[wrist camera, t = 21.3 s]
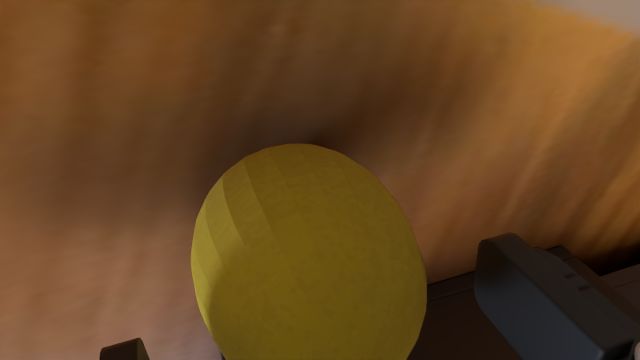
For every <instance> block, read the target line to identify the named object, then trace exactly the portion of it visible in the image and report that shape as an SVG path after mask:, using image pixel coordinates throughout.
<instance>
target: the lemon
mask: <svg viewBox="0 0 640 360" xmlns="http://www.w3.org/2000/svg"><path fill="white" fill-rule="evenodd" d="M191 269H192V276H193V281H194V287H195V292H196V297H197V302H198V306H199V309H200V312H201V314H202V317H203V319H204V321H205V324H206V326H207V328H208V330H209V331H210V333H211V335H212V337H213V339H214V340H215V342H216V344H217V346H218V347H219V349H220V351H221V352H222V354H223V356H224V357H225V359H226V360H406V359H407V357H408V356H409V354H410V352H411V350H412V349H413V347H414V345H415V343H416V341H417V339H418V337H419V334H420V330H421V327H422V323H423V320H424V316H425V313H426V304H427V280H426V272H425V267H424V263H423V259H422V256H421V253H420V250H419V248H418V245H417V242H416V239H415V236H414V234H413V231H412V228H411V226H410V224H409V222H408V219H407V217H406V216H405V214H404V212H403V210H402V209H401V207H400V206H399V204H398V203H397V201H396V200H395V199H394V198H393V196H392V195H391V194H390V193H389V192H388V190H387V189H386V188H385V187H384V186H383V184H382V183H381V182H380V181H379V180H378V179H377V178H376V177H375V176H374V175H373V174H372V173H371V172H370V171H368V170H367V169H365V168H364V167H362V166H361V165H359V164H358V163H356V162H355V161H353V160H352V159H350V158H348V157H347V156H345V155H344V154H342V153H339V152H337V151H334V150H330V149H327V148H324V147H320V146H317V145H312V144H289V143H288V144H283V145H278V146H273V147H269V148H264V149H262V150H260V151H258V152H255V153H253V154H251V155H249V156H246V157H244V158H243V159H242V160H240V161H239V162H238V163H236V164H235V165H234V166H232V167H231V168H230V169H228V170H227V171H226V172H225V173H224V174H223V175H222V176H221V178H220V179H219V180H218V181H217V182H216V184H215V185H214V186H213V187H212V188H211V190H210V191H209V193H208V195H207V197H206V199H205V201H204V203H203V205H202V207H201V210H200V212H199V214H198V216H197V219H196V223H195V230H194V237H193V243H192V250H191Z"/></svg>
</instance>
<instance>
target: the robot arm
mask: <svg viewBox="0 0 640 360" xmlns="http://www.w3.org/2000/svg"><path fill="white" fill-rule="evenodd" d="M474 293H475V297H476V300H477V303H478V305H479V307H480V308H481V310H482V311H483V312H484V314H485V315H486V316H487V317H488V318H489V320H490V321H491V322H492V323H493V324H494V326H495V327H496V328H497V329H498V330H499V332H500V333H501V334H502V335H503V336H504V338H505V339H506V340H507V341H508V342H509V344H510V345H511V346H512V347H513V348H514V350H515V351H516V352H517V353H518V354H519V355H520V357H521V358H522V359H523V360H640V326H639V325H638V324H637V323H636V322H634V321H633V320H632V319H631V318H630V317H629V316H627V315H626V314H625V313H624V312H623V311H621V310H620V309H619V308H618V307H617V306H616V305H614V304H613V303H612V302H611V301H610V300H609V299H607V298H606V297H605V296H604V295H603V294H601V293H600V292H599V291H598V290H597V289H596V288H592V287H591V284H590V283H589V282H587V281H586V280H585V279H584V278H583V277H581V276H580V275H579V276H578V275H577V273H576V271H574V270H573V269H572V268H571V267H570V266H569V265H567V264H566V263H565V262H564V261H563V260H562V259H560V258H559V257H557V256H555V255H553V254H551V253H549V252H547V251H545V250H542V249H540V248H538V247H535V248H531V247H530V246H529V245H528V244H527V243H525V242H524V241H523V240H522V239H521V238H520V237H519V236H517V235H516V234H514V233H506V234H502V235H499V236H495V237H492V238H488V239H485V240H482V241H481V242H480V243H479V247H478V254H477V263H476V271H475V280H474ZM100 360H150V359H149V357H148V354H147V352H146V349H145V346H144V344H143V342H142V340H141V338H136V339H132V340H129V341H125V342H122V343H118V344H115V345H111V346H108V347H104V348H102V349H101V352H100Z"/></svg>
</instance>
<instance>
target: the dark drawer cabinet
mask: <svg viewBox="0 0 640 360" xmlns="http://www.w3.org/2000/svg"><path fill="white" fill-rule="evenodd" d="M546 251H547V252H549V253H551V254H553V255H555V256H557V257H559V258H560V259H562V260H563V261H564V262H565V263H566V264H567V265H569V266H570V267H571V268H572V269H573V270H574V271H576V273H577V275H578V276H579V275H580V276H581V277H583V278H584V279H585V280H586V281H587V282H589V283H590V284H591V287H592V288H596V289H597V290H598V291H599V292H600V293H601V294H603V295H604V296H605V297H606V298H607V299H609V300H610V301H611V302H612V303H613V304H614V305H616V306H617V307H618V308H619V309H620V310H621V311H623V312H624V313H625V314H626V315H627V316H629V317H630V318H631V319H632V320H633V321H634V322H636V323H637V324H638V325H639V326H640V310H639V309H638V308H636V307H635V306H634V305H633V304H632V303H630V302H629V301H628V300H627V299H626V298H624V297H623V296H622V295H621V294H620V293H619V292H617V291H616V290H615V289H614V288H613V287H611V286H610V285H609V284H608V283H607V282H605V281H604V280H603V279H602V278H601V277H599V276H598V275H597V274H596V273H595V272H593V271H592V270H591V269H590V268H589V267H587V266H586V265H585V264H584V263H583V262H581V261H580V260H579V259H578V258H577V257H575V256H574V255H573V254H572V253H571V252H570V251H569V250H567V249H566V248H565V247H564V246H560V247H556V248H553V249H549V250H546ZM474 280H475V272H472V273H469V274H466V275H462V276H459V277H456V278H452V279H449V280H446V281H442V282H439V283H436V284H432V285H429V286H427V304H426V313H425V316H424V320H423V323H422V327H421V330H420V334H419V337H418V339H417V341H416V343H415V345H414V347H413V349H412V350H411V352H410V354H409V356H408V357H407V359H406V360H523V359H522V358H521V357H520V355H519V354H518V353H517V352H516V351H515V350H514V348H513V347H512V346H511V345H510V344H509V342H508V341H507V340H506V339H505V338H504V336H503V335H502V334H501V333H500V332H499V330H498V329H497V328H496V327H495V326H494V324H493V323H492V322H491V321H490V320H489V318H488V317H487V316H486V315H485V314H484V312H483V311H482V310H481V308H480V307H479V305H478V303H477V300H476V297H475V293H474ZM221 356H222V360H226V359H225V357H224V356H223V354H222V352H221Z"/></svg>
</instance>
